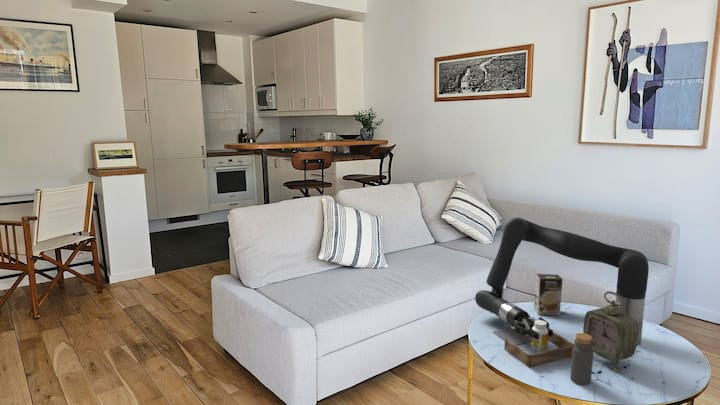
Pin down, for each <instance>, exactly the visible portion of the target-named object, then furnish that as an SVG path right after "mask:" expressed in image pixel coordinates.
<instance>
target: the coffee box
mask: <svg viewBox="0 0 720 405" xmlns="http://www.w3.org/2000/svg"><path fill="white" fill-rule="evenodd" d="M535 277H536V278H535V289H534V290H535V291H534V302H533V303H534V304H533V311H535V313H536V314H537V316H539V315H540V316H560V315H561V305H562V304H561V303H562V291H563V278H562V277H561V276H560V275H559V274H553V273H552V274H549V273H548V274H547V273H536V275H535Z"/></svg>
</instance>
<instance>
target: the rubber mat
mask: <svg viewBox="0 0 720 405" xmlns="http://www.w3.org/2000/svg"><path fill="white" fill-rule="evenodd" d="M510 328H511V327H509V328H504V329H498V330H494V331H492V332H491V333H493V334H494V335H495V336H497V337H499V338H500V339H501V340H503V341H504V342H505V339H508V340H510V341H511V342H513V343H514V344H516V345H517V346H520V345H525V344H528V343H530V344H531V336H530V335H529V336H528V335H526V334H525V335H524V336H522V335H520V334H518V333H516V332H514V331H512V330H510ZM520 331H521V330H520Z"/></svg>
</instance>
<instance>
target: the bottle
mask: <svg viewBox="0 0 720 405" xmlns="http://www.w3.org/2000/svg"><path fill="white" fill-rule="evenodd" d="M573 341H574V342H573V344H575V346H574V347H573V349H572V358H571V363H570V364H571V365H570V380H571V382H573V383H574V384H576V385H579V386H589V385H591V381H592V371H593V362H594V361H593V360H594V352H593V350H592V349H591V347H592V342H591V341H592V336H590V335H588V334H585V333H583V332H578V333H576V334H575V339H574V340H573Z"/></svg>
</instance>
